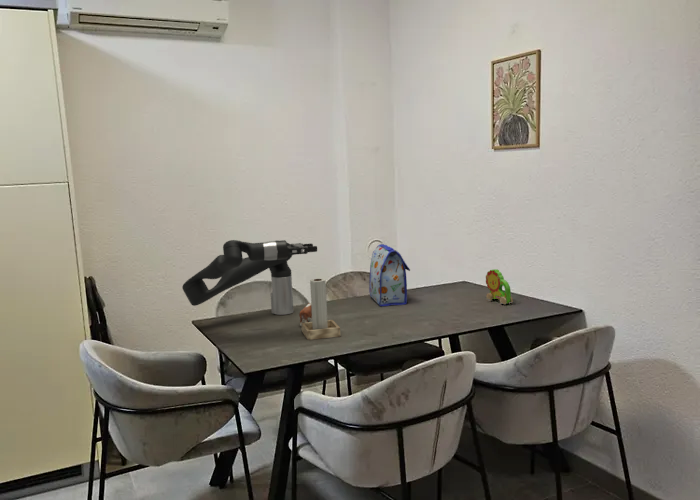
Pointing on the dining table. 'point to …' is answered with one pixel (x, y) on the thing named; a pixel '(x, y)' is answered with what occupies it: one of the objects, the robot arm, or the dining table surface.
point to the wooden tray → (321, 331)
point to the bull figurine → (306, 314)
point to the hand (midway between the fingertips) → (314, 247)
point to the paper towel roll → (318, 304)
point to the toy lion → (498, 287)
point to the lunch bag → (388, 277)
